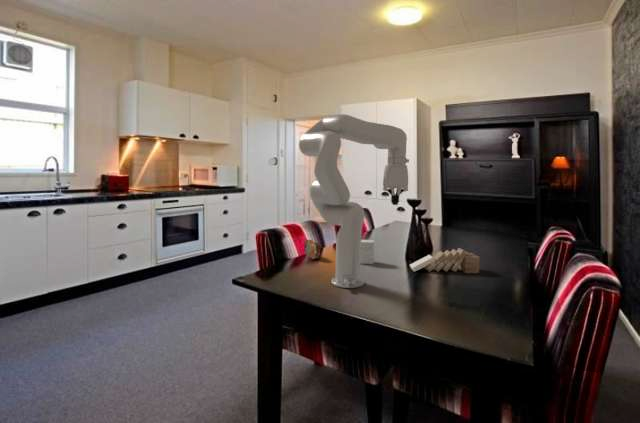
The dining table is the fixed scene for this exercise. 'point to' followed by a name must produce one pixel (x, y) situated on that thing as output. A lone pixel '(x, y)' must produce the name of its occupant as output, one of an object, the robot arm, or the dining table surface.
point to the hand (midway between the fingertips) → (394, 204)
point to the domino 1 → (422, 263)
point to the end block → (470, 263)
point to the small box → (367, 252)
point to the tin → (312, 249)
